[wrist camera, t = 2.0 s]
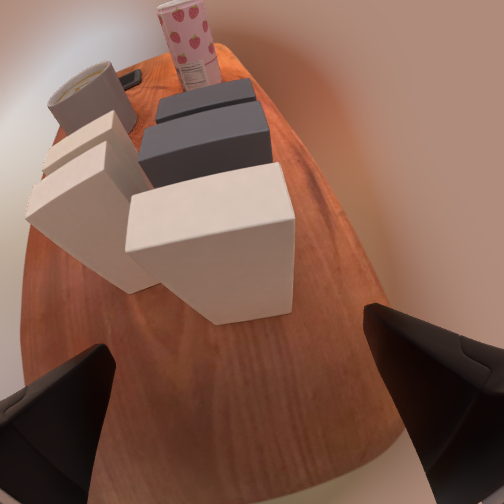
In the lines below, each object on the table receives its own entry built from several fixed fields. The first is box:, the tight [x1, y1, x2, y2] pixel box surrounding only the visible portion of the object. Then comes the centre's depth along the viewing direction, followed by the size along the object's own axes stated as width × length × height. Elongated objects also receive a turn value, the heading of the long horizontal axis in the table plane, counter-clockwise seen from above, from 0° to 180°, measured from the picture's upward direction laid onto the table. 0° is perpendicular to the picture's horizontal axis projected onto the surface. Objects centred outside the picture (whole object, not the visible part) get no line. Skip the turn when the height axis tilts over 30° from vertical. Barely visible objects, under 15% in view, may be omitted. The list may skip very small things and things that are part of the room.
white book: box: [125, 162, 295, 325], centre depth 14 cm, size 2×6×12 cm, turn 98°
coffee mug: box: [47, 61, 137, 136], centre depth 29 cm, size 13×10×10 cm
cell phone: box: [118, 69, 141, 90], centre depth 39 cm, size 7×14×1 cm, turn 109°
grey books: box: [138, 78, 273, 189], centre depth 17 cm, size 7×6×12 cm
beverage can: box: [157, 0, 223, 92], centre depth 26 cm, size 6×6×15 cm
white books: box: [25, 110, 160, 294], centre depth 17 cm, size 7×6×12 cm
